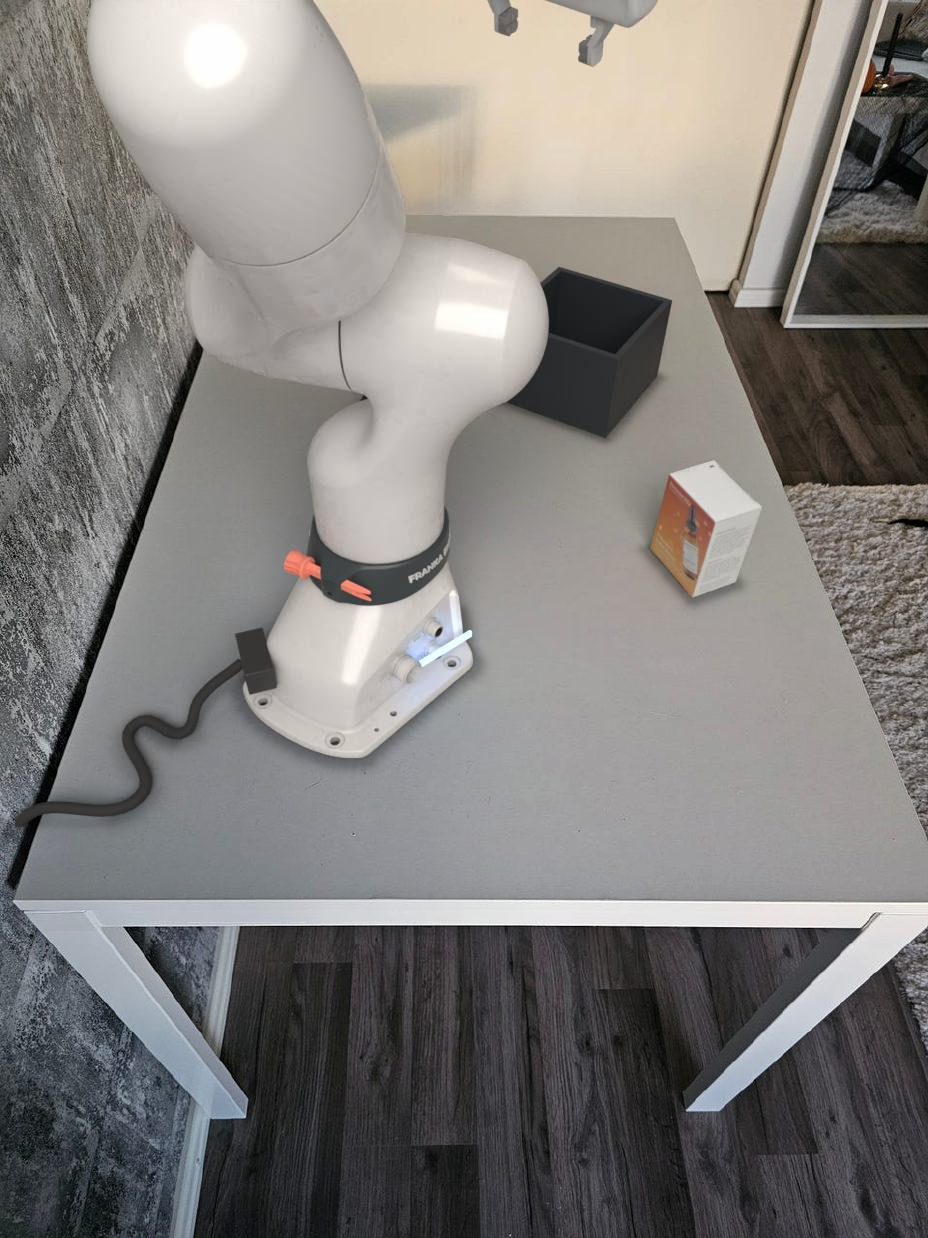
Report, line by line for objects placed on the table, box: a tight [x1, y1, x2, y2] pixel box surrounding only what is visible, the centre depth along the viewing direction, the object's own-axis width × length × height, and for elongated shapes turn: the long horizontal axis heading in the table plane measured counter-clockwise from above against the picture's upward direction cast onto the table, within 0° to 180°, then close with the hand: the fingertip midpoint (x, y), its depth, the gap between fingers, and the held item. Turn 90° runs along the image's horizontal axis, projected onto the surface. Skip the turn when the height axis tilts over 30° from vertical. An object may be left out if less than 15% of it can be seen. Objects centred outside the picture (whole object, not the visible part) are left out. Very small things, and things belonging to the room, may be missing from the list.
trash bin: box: [506, 266, 673, 439], centre depth 113 cm, size 16×16×11 cm
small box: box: [649, 459, 763, 598], centre depth 91 cm, size 8×6×10 cm
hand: (547, 46), depth 83 cm, fingers open, 8 cm apart
